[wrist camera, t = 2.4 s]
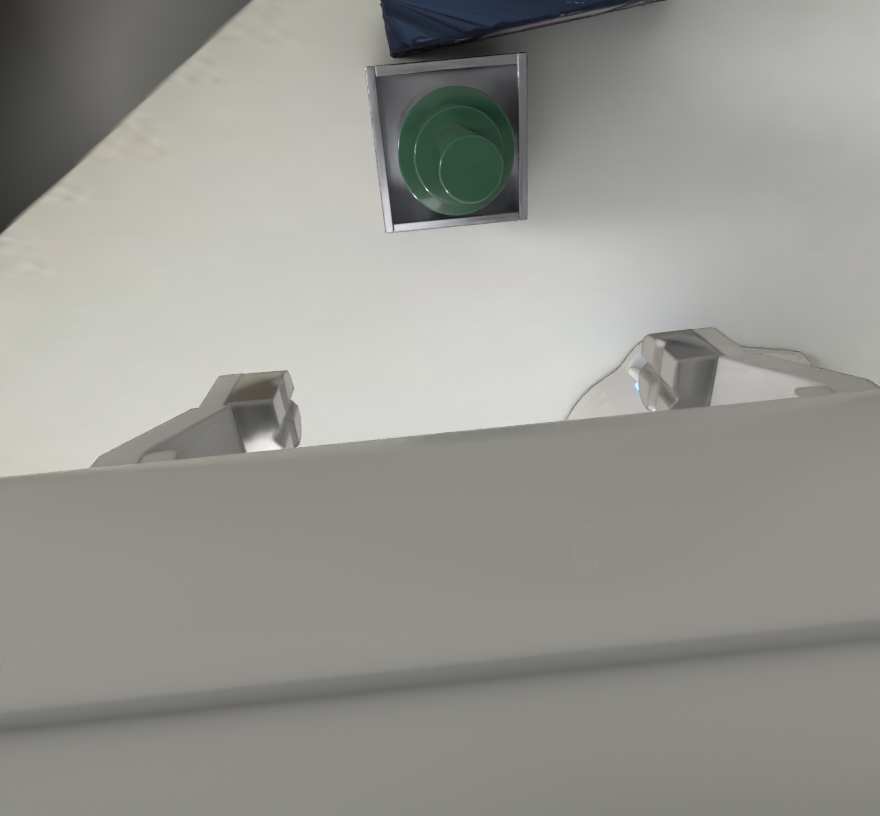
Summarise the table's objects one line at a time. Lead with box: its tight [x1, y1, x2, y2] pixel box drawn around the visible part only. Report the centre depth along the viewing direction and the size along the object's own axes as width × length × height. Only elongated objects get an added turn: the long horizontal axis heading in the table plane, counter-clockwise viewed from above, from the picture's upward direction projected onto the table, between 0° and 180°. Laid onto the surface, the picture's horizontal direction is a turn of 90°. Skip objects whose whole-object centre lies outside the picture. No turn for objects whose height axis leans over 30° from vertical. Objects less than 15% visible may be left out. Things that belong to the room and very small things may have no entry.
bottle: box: [397, 86, 515, 215], centre depth 30 cm, size 6×6×18 cm
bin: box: [365, 52, 527, 233], centre depth 35 cm, size 8×8×8 cm
